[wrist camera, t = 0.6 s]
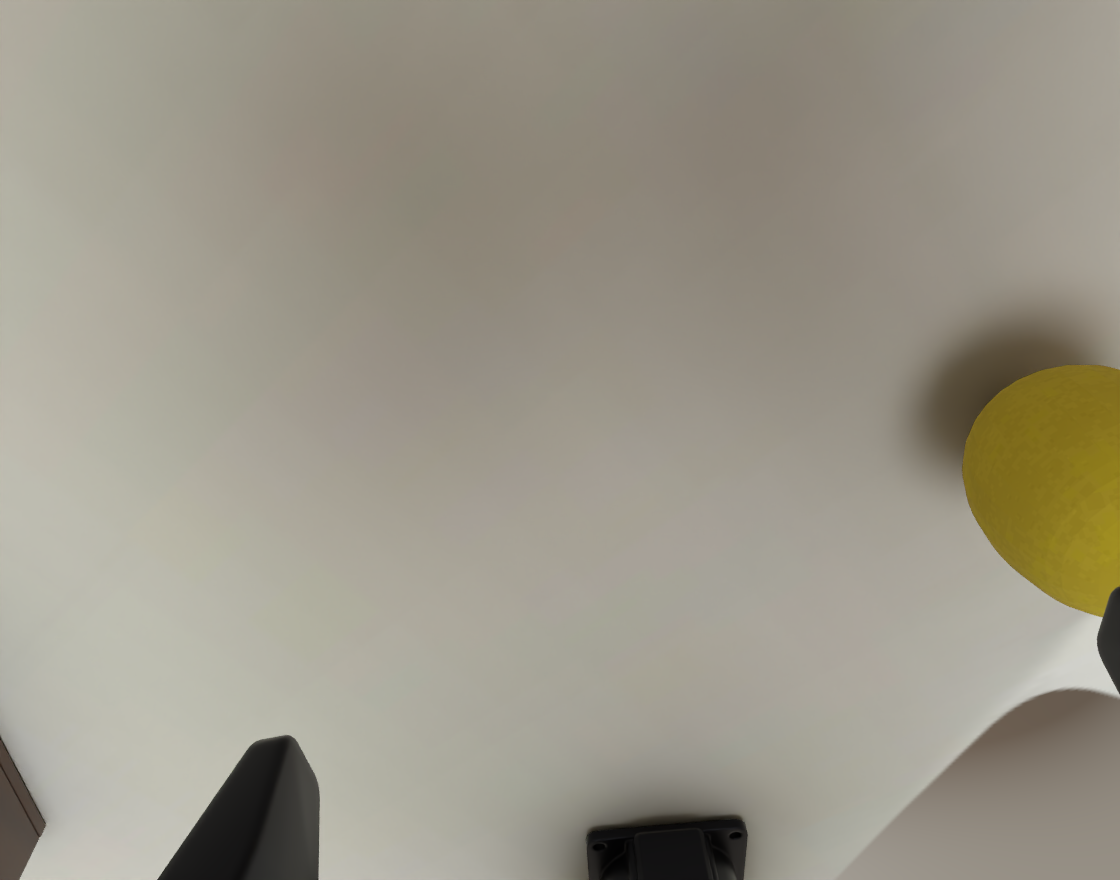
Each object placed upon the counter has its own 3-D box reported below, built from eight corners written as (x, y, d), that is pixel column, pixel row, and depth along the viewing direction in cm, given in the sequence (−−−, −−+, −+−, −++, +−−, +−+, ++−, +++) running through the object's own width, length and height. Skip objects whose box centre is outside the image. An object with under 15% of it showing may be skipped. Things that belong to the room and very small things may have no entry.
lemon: (934, 505, 27) (1077, 713, 20) (901, 360, 24) (1054, 547, 17) (1118, 442, 26) (1331, 638, 19) (1106, 284, 23) (1352, 450, 16)
